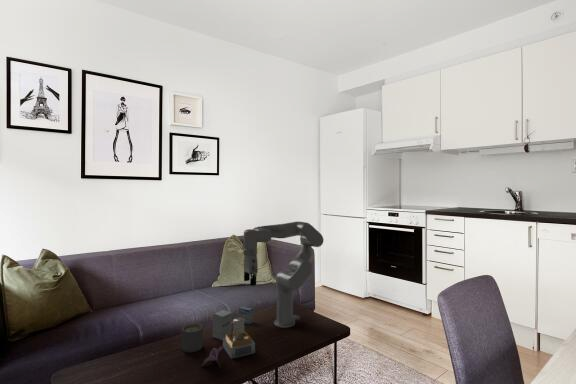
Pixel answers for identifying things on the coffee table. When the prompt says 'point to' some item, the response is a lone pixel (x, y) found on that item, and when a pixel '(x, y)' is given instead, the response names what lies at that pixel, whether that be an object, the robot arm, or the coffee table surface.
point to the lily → (213, 355)
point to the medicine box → (246, 314)
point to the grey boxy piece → (238, 346)
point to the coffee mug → (192, 337)
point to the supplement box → (222, 324)
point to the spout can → (238, 328)
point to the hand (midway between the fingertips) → (249, 283)
